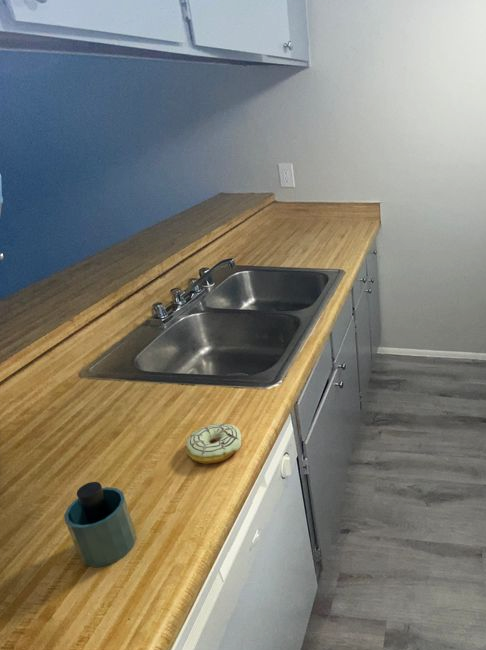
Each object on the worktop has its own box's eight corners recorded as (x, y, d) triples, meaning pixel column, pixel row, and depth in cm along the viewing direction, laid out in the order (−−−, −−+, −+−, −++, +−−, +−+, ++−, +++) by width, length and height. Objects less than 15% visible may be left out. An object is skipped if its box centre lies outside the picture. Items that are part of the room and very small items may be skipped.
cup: (77, 541, 78) (61, 502, 74) (130, 518, 83) (118, 480, 79) (84, 576, 73) (68, 536, 69) (141, 549, 77) (129, 510, 73)
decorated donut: (251, 452, 99) (249, 438, 97) (199, 475, 93) (196, 460, 91) (230, 427, 106) (228, 413, 104) (181, 447, 99) (178, 433, 98)
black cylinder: (95, 541, 78) (75, 487, 72) (117, 531, 80) (99, 478, 74) (98, 555, 76) (78, 500, 70) (121, 544, 77) (102, 491, 72)
